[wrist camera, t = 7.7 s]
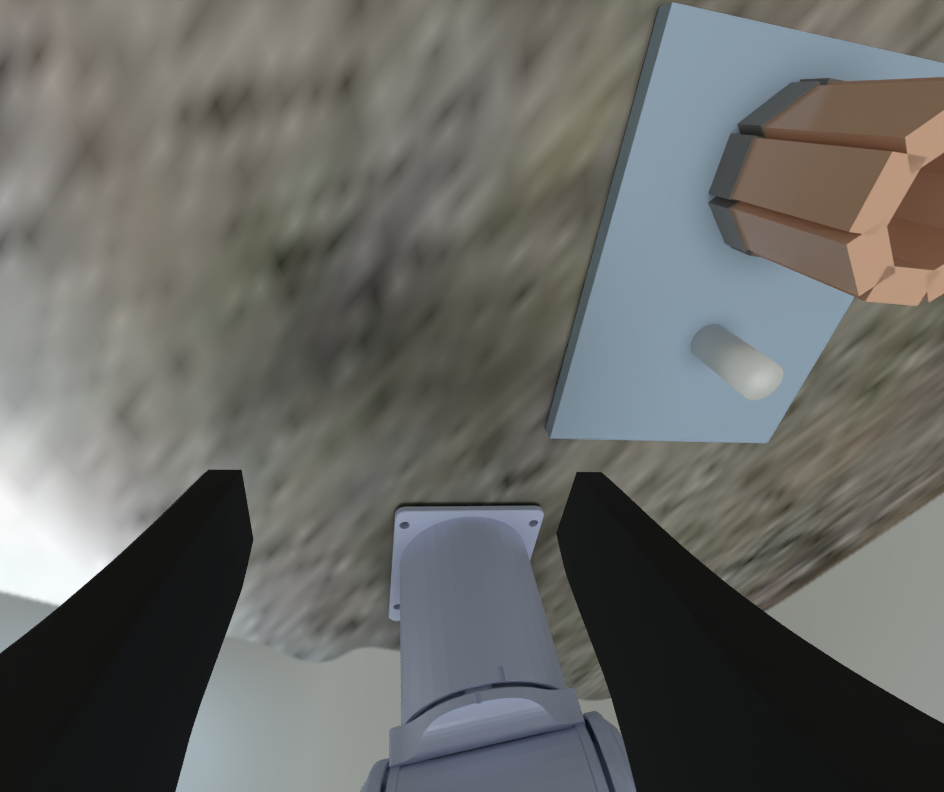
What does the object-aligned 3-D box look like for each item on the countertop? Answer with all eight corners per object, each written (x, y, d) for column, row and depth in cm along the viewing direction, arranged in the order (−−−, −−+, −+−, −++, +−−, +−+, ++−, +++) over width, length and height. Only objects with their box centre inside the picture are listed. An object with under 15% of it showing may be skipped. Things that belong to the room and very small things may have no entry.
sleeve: (809, 255, 18) (964, 313, 13) (689, 243, 17) (809, 300, 12) (891, 96, 16) (1125, 94, 11) (753, 70, 15) (940, 54, 10)
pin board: (757, 433, 25) (819, 490, 21) (545, 428, 22) (574, 490, 19) (963, 74, 16) (1124, 66, 13) (659, 6, 14) (749, -26, 10)
